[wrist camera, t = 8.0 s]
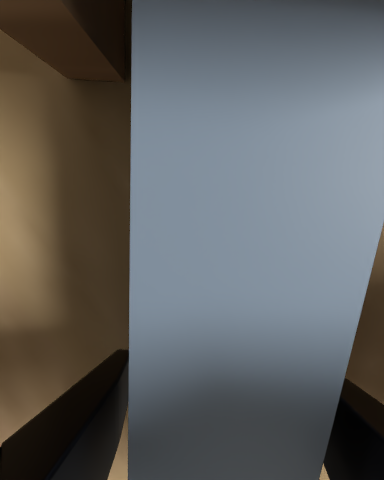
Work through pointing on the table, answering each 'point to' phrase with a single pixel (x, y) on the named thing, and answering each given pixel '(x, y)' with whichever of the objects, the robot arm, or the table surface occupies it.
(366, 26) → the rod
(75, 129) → the table surface
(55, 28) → the wooden arch
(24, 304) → the table surface
